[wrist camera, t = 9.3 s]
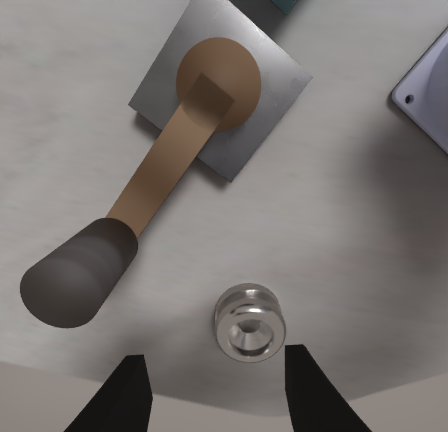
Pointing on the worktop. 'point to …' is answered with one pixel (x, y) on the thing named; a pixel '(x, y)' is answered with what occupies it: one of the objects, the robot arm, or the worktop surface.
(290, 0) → the tray
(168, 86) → the wooden and grey pieces
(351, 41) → the worktop surface
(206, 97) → the crank lever
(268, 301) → the metal wheel
